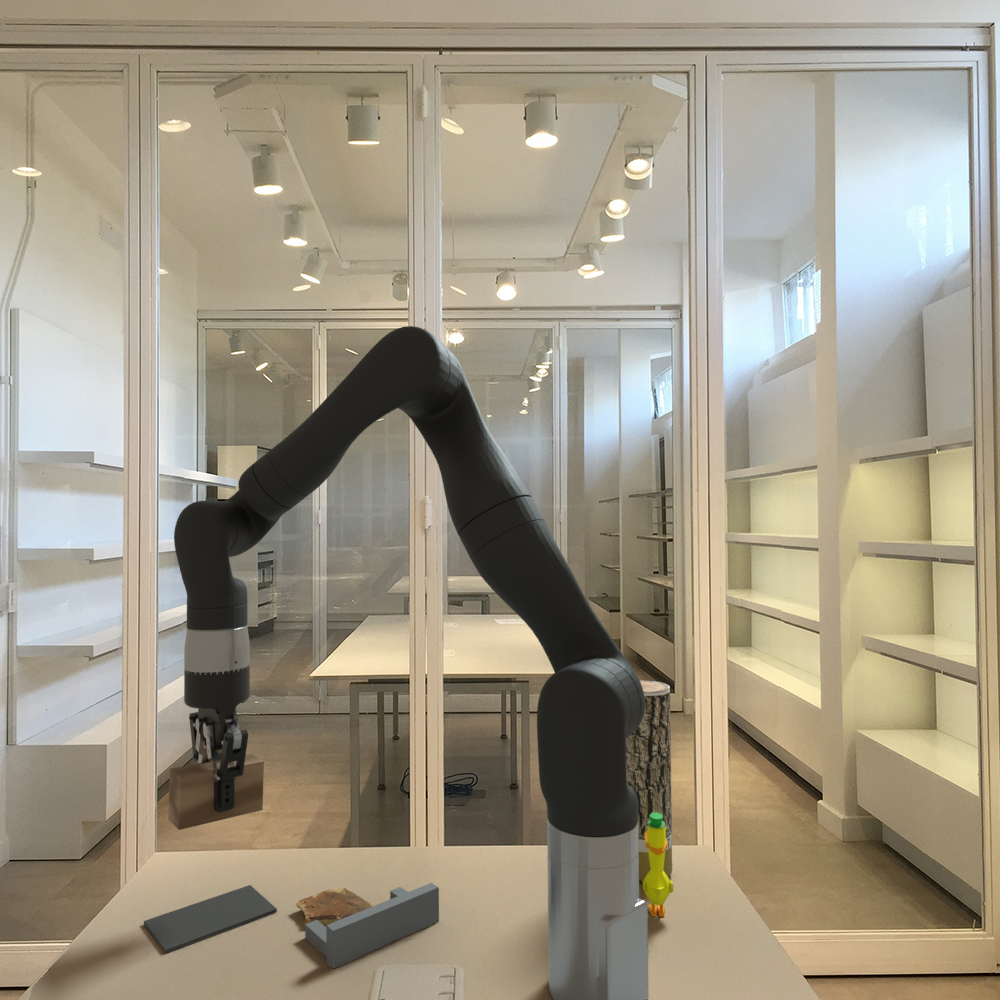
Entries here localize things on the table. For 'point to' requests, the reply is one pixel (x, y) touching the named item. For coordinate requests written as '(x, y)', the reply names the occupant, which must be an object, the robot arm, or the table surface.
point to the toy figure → (656, 865)
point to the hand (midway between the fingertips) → (217, 803)
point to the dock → (375, 925)
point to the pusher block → (212, 793)
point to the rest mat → (208, 918)
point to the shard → (331, 906)
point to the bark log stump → (652, 769)
